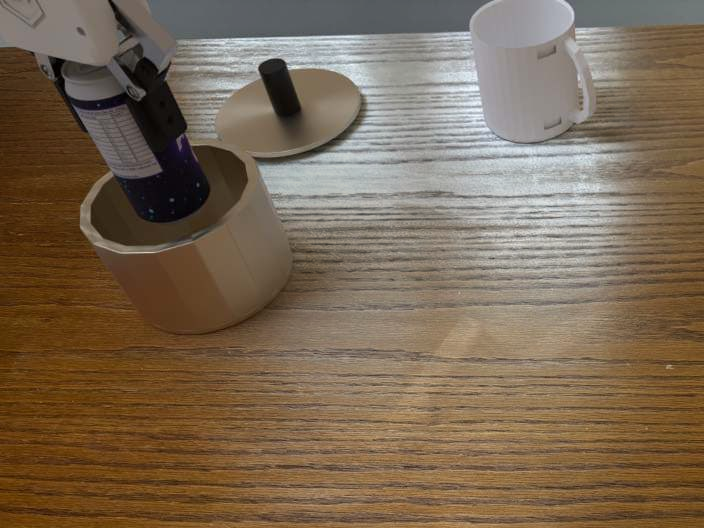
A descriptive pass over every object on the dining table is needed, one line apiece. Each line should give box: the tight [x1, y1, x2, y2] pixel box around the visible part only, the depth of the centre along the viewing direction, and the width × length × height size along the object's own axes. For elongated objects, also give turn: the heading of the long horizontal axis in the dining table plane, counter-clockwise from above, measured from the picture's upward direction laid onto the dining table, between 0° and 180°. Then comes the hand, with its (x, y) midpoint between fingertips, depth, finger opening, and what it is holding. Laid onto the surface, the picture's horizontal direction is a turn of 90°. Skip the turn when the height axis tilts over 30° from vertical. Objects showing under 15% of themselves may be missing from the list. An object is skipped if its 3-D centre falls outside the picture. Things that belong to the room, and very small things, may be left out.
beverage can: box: [61, 49, 210, 225], centre depth 59 cm, size 6×6×12 cm
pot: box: [79, 138, 294, 336], centre depth 66 cm, size 13×13×8 cm
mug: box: [468, 0, 597, 144], centre depth 75 cm, size 12×9×9 cm
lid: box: [214, 57, 362, 158], centre depth 80 cm, size 14×14×6 cm
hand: (135, 129), depth 58 cm, fingers closed on beverage can, 5 cm apart
